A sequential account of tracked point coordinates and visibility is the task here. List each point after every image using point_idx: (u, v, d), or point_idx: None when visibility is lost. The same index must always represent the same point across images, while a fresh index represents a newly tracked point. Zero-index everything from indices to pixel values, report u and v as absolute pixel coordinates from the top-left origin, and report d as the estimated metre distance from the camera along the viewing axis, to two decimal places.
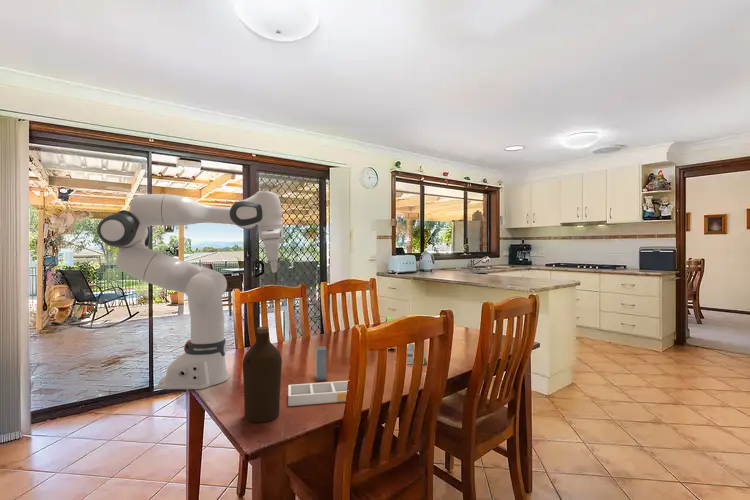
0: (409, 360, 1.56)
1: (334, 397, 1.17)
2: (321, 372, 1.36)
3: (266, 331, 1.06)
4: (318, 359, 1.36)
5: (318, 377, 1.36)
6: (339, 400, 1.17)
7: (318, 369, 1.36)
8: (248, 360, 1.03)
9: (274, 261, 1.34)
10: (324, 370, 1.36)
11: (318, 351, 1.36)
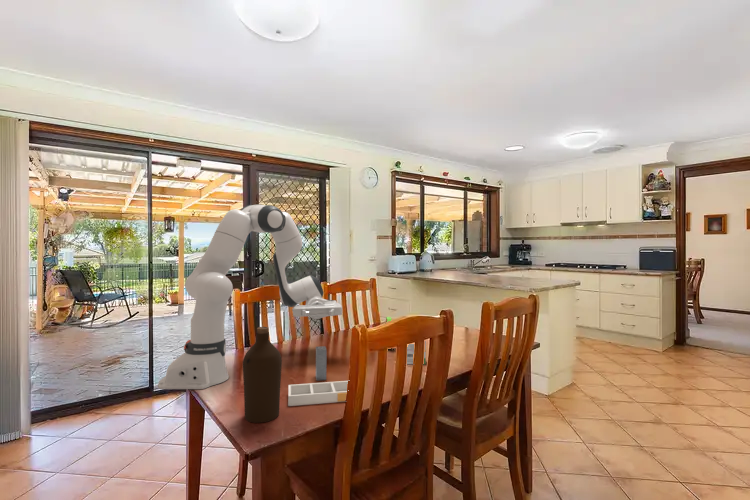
0: (409, 360, 1.56)
1: (334, 397, 1.17)
2: (321, 372, 1.36)
3: (266, 331, 1.06)
4: (318, 359, 1.36)
5: (318, 377, 1.36)
6: (339, 400, 1.17)
7: (318, 369, 1.36)
8: (248, 360, 1.03)
9: (334, 312, 1.55)
10: (324, 370, 1.36)
11: (318, 351, 1.36)
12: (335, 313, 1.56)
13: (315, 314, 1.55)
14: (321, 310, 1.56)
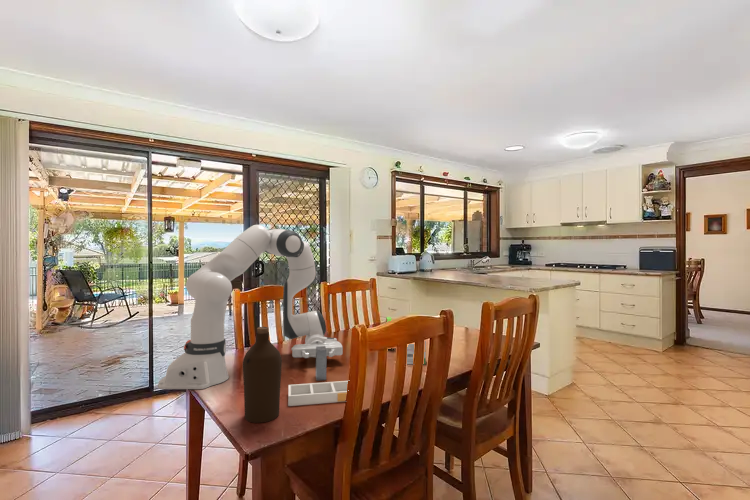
0: (409, 360, 1.56)
1: (334, 397, 1.17)
2: (321, 372, 1.36)
3: (266, 331, 1.06)
4: (318, 359, 1.36)
5: (318, 377, 1.36)
6: (339, 400, 1.17)
7: (318, 369, 1.36)
8: (248, 360, 1.03)
9: (334, 352, 1.52)
10: (324, 370, 1.36)
11: (318, 351, 1.36)
12: (335, 353, 1.53)
13: (315, 354, 1.51)
14: None
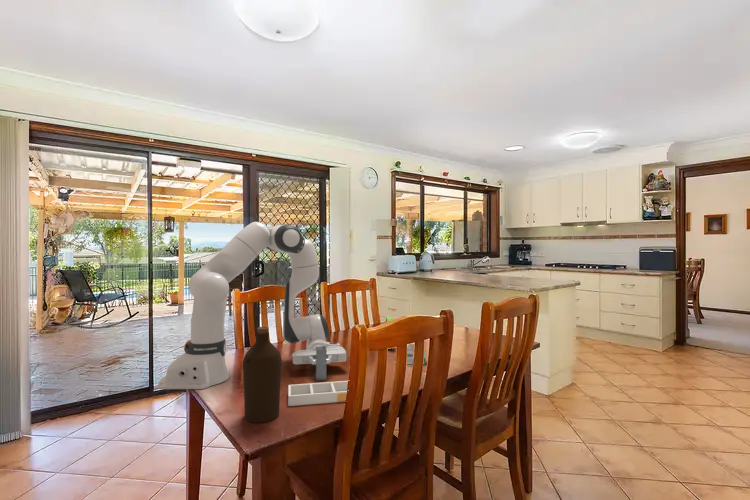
0: (409, 360, 1.56)
1: (334, 397, 1.17)
2: (321, 372, 1.36)
3: (266, 331, 1.06)
4: (318, 359, 1.36)
5: (318, 377, 1.36)
6: (339, 400, 1.17)
7: (318, 369, 1.36)
8: (248, 360, 1.03)
9: (331, 359, 1.42)
10: (324, 370, 1.36)
11: (318, 351, 1.36)
12: (339, 360, 1.44)
13: None
14: None
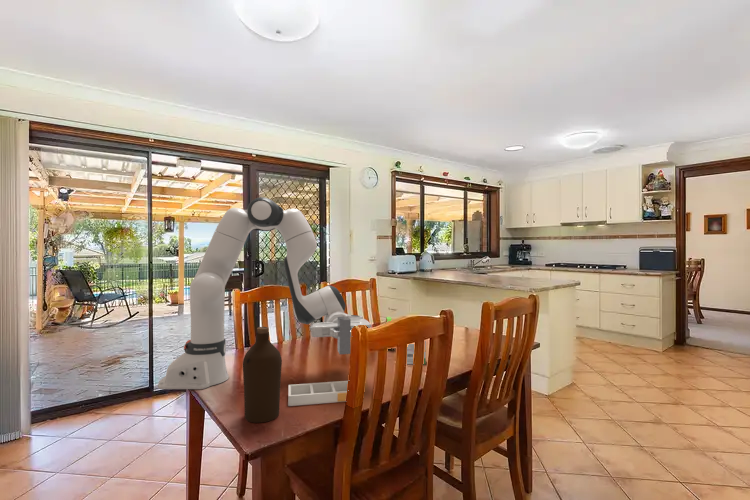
0: (409, 360, 1.56)
1: (334, 397, 1.17)
2: (344, 344, 1.20)
3: (266, 331, 1.06)
4: (341, 330, 1.20)
5: (341, 350, 1.20)
6: (339, 400, 1.17)
7: (341, 341, 1.20)
8: (248, 360, 1.03)
9: None
10: (348, 342, 1.20)
11: (341, 321, 1.20)
12: None
13: None
14: None
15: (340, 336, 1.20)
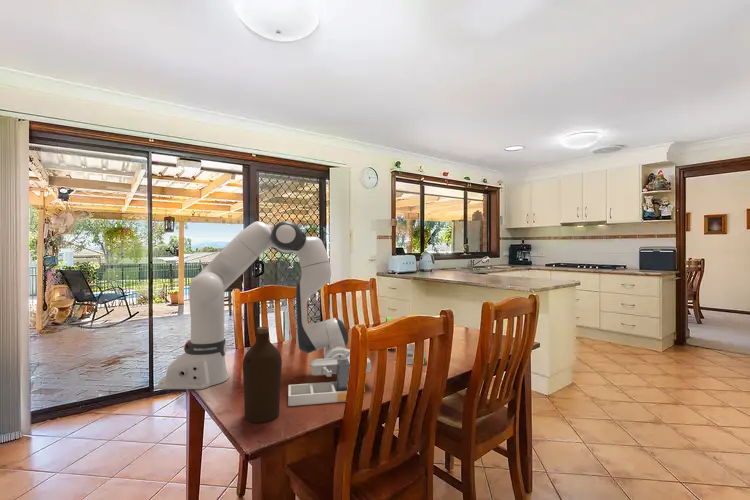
0: (409, 360, 1.56)
1: (334, 397, 1.17)
2: (344, 389, 1.20)
3: (266, 331, 1.06)
4: (341, 374, 1.19)
5: None
6: (339, 400, 1.17)
7: (341, 386, 1.19)
8: (248, 360, 1.03)
9: None
10: None
11: (341, 365, 1.19)
12: None
13: None
14: None
15: (340, 381, 1.19)
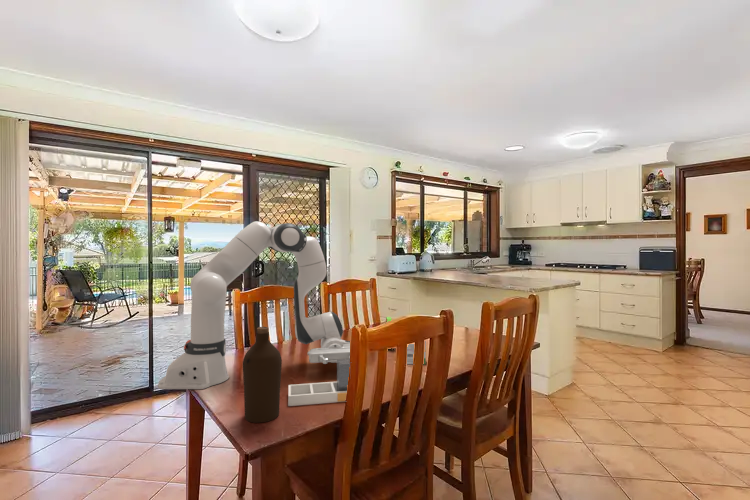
0: (409, 360, 1.56)
1: (334, 397, 1.17)
2: (344, 389, 1.20)
3: (266, 331, 1.06)
4: (341, 374, 1.19)
5: None
6: (339, 400, 1.17)
7: (341, 386, 1.19)
8: (248, 360, 1.03)
9: None
10: None
11: (341, 365, 1.19)
12: None
13: (333, 360, 1.38)
14: (340, 355, 1.39)
15: (340, 381, 1.19)
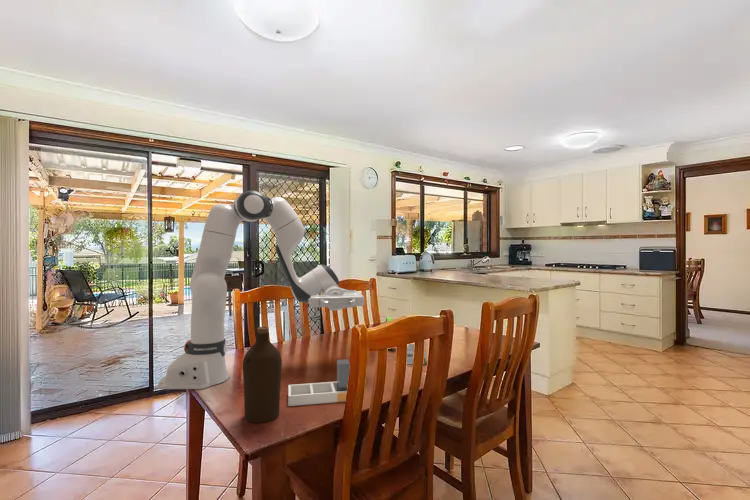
0: (409, 360, 1.56)
1: (334, 397, 1.17)
2: (344, 389, 1.20)
3: (266, 331, 1.06)
4: (341, 374, 1.19)
5: None
6: (339, 400, 1.17)
7: (341, 386, 1.19)
8: (248, 360, 1.03)
9: (355, 302, 1.39)
10: None
11: (341, 365, 1.19)
12: (356, 304, 1.40)
13: (334, 305, 1.38)
14: (341, 300, 1.39)
15: (340, 381, 1.19)
